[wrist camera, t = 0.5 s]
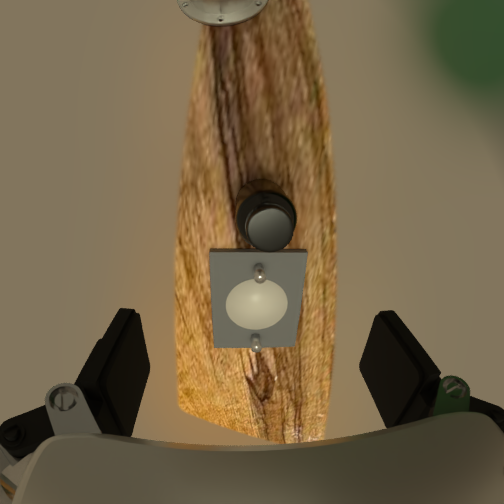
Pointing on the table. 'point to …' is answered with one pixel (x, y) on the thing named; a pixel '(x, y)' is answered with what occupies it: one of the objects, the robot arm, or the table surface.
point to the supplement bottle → (265, 215)
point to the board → (256, 297)
